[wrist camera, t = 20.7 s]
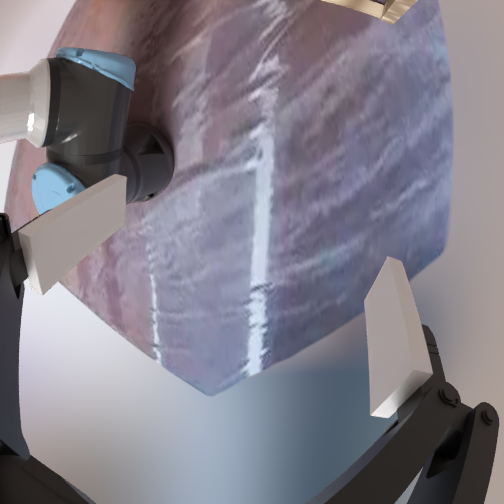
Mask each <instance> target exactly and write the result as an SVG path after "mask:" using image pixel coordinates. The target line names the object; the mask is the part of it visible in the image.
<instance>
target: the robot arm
mask: <svg viewBox="0 0 504 504" xmlns="http://www.w3.org/2000/svg"><path fill="white" fill-rule="evenodd" d="M54 57H55V58H48V59H41V61H39V62H38V63H37V64H36V65H35V66H34V67H33V68H32V69H31V70H30V71H28V72H20V73H12V74H5V75H0V143H5V142H9V141H14V140H19V139H27V140H28V141H29V142H31V143H32V144H33V145H34V146H35V147H37V148H40V147H46V146H47V151H46V163H45V164H42V165H41V166H40V167H39V168H38V169H37V170H36V172H35V174H34V175H33V177H32V183H31V190H32V196H33V200H34V203H35V206H36V208H37V210H38V212H39V214H40V215H39V217H38V216H37V217H36V218H34V219H33V220H32V221H30V222H28V223H26V224H25V225H23V226H22V227H20V228H19V229H17V230H16V231H14V232H13V233H11V228H10V222H9V216H8V215H7V214H5V213H0V504H96V503H95V502H94V501H93V500H91V499H90V498H89V497H88V496H87V495H86V494H85V493H83V492H81V491H80V490H79V489H77V488H76V487H74V486H73V485H72V484H70V483H69V482H68V481H66V480H65V479H64V478H62V477H61V476H60V475H58V474H57V473H55V472H54V471H52V470H51V469H49V468H48V467H47V466H45V465H44V464H42V463H41V462H40V461H38V460H37V459H36V458H34V457H33V456H32V455H31V456H30V453H29V449H28V446H27V444H26V441H25V439H24V437H23V434H22V430H21V421H20V407H19V374H18V373H19V339H20V326H21V315H22V305H23V297H24V289H25V288H24V283H23V281H24V280H26V279H27V278H28V279H29V282H30V286H31V289H33V290H34V291H36V292H38V293H39V294H41V295H44V294H45V293H46V292H47V291H48V290H49V289H50V288H51V287H52V286H53V285H55V284H56V283H57V282H58V281H59V280H60V279H61V278H62V277H63V276H64V275H65V274H67V273H68V272H69V271H70V270H71V269H72V268H73V267H74V266H76V265H77V264H78V263H79V262H80V261H81V260H83V259H84V258H85V257H86V256H87V255H88V254H90V253H91V252H92V251H93V250H94V249H95V248H97V247H98V246H99V245H100V244H101V243H103V242H104V241H105V240H106V239H108V238H109V237H110V236H111V235H112V234H114V233H115V232H116V231H117V230H119V229H120V228H121V227H122V226H124V225H125V207H126V205H127V204H128V203H136V202H144V201H148V200H151V199H153V198H154V197H156V196H157V195H159V194H160V193H162V192H163V191H164V190H165V189H166V187H167V186H168V184H169V183H170V181H171V178H172V175H173V170H174V159H173V153H172V150H171V147H170V145H169V143H168V141H167V139H166V138H165V137H164V135H163V134H162V133H161V132H160V131H159V130H157V129H156V128H155V127H153V126H151V125H149V124H145V123H132V124H128V125H127V122H128V115H129V109H130V103H131V98H132V92H134V87H133V85H134V78H135V72H136V65H135V63H134V61H133V60H132V59H131V58H129V57H126V56H123V55H119V54H114V53H110V52H104V51H98V50H91V49H81V48H73V47H61V48H58V50H57V52H56V53H55V55H54ZM364 306H365V317H366V328H367V341H368V356H369V378H370V415H372V416H378V417H385V418H389V417H390V416H391V415H392V414H393V413H394V412H395V411H396V410H397V413H398V419H397V420H396V421H395V422H394V423H393V424H391V425H390V426H389V427H388V428H387V429H385V430H384V431H383V432H382V433H383V435H382V436H381V437H380V438H379V439H378V440H377V441H376V442H375V443H374V444H373V445H372V446H371V447H370V448H369V449H368V450H367V451H366V452H365V453H364V454H363V455H362V456H361V457H360V458H359V459H358V460H357V461H356V462H354V463H353V464H352V465H351V466H350V467H349V468H348V469H347V470H346V471H345V472H344V473H342V474H341V475H340V476H339V477H338V478H337V479H336V480H335V481H333V482H332V483H331V484H330V485H328V486H327V487H326V488H325V489H324V490H323V491H321V492H320V493H319V494H317V495H316V496H315V497H314V498H312V499H311V500H310V501H308V502H307V503H306V504H394V503H395V502H396V501H397V500H398V498H399V497H400V496H401V495H402V493H403V492H404V491H405V490H406V488H407V487H408V486H409V485H410V483H411V482H412V481H413V479H414V478H415V477H416V475H417V474H418V473H419V471H420V470H421V469H422V467H423V469H422V471H421V473H420V476H419V478H418V481H417V483H416V485H415V487H414V490H413V492H412V494H411V496H410V498H409V500H408V502H407V504H484V501H485V497H486V493H487V489H488V485H489V481H490V477H491V472H492V467H493V462H494V456H495V451H496V444H497V437H498V429H499V417H498V414H497V412H496V410H495V409H494V407H493V406H491V405H490V404H489V403H486V402H481V403H480V404H479V405H477V406H476V407H475V408H474V409H472V408H471V407H469V406H467V405H465V404H463V403H461V400H460V396H459V394H458V391H457V390H456V389H455V388H454V387H453V386H452V385H451V384H450V383H448V382H446V380H445V376H444V372H443V368H442V364H441V359H440V356H439V352H438V348H436V347H437V345H436V341H435V338H434V335H433V333H432V332H431V330H430V329H429V327H428V326H425V325H422V324H421V322H420V319H419V315H418V311H417V308H416V304H415V301H414V298H413V295H412V291H411V288H410V285H409V282H408V279H407V276H406V273H405V270H404V267H403V264H402V261H399V260H396V259H394V258H391V257H387V259H386V261H385V263H384V265H383V267H382V268H381V270H380V272H379V274H378V276H377V278H376V280H375V282H374V284H373V286H372V287H371V289H370V291H369V293H368V295H367V297H366V298H365V300H364Z"/></svg>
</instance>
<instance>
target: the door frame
mask: <svg viewBox="0 0 504 504" xmlns="http://www.w3.org/2000/svg"><path fill="white" fill-rule="evenodd" d="M322 1H326V2H330V3H334V4H337V5H341V6H344V7H348V8H351V9H354V10H357V11H361V12H364V13H367V14H369V15H372V16H375V17H378V18H381V20H382V21H384V22H387V23H389V24H392V25H393V24H394V23H395V22H396V21H397V20H398V19H399V18H400V17H401V16H402V15H403V14H404V13H405V12H406V11H407V10H408V9H409V8H410V7H411V6H412V5H413V4H414V3H415V2H416V1H417V0H387V1H386V3H385V5H381V4H379V3H376V2H373V1H370V0H322Z"/></svg>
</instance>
